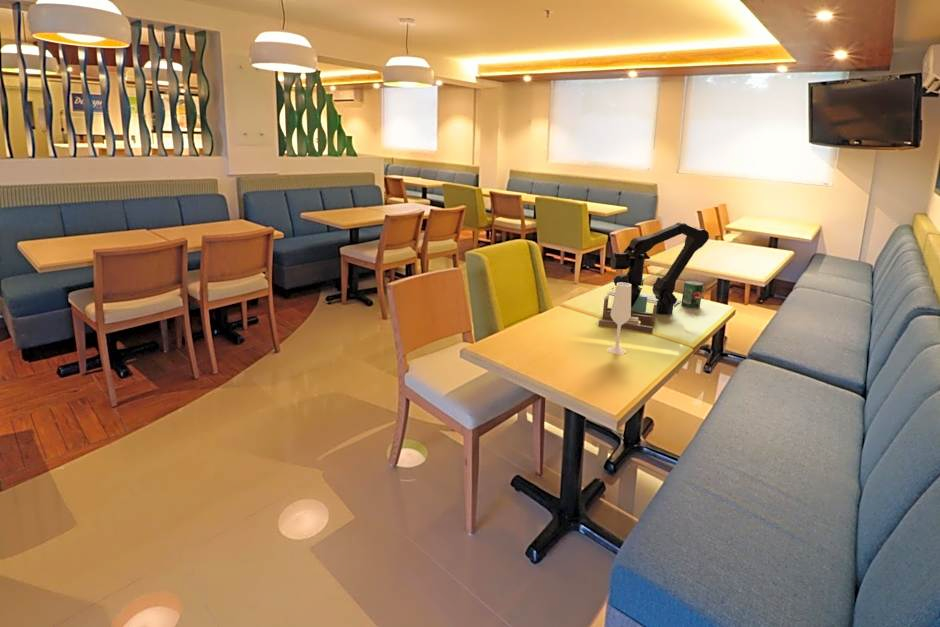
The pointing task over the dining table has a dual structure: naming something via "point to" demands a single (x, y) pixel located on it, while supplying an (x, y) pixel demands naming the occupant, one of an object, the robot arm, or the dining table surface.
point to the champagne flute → (620, 312)
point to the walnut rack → (644, 317)
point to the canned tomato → (692, 294)
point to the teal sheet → (640, 304)
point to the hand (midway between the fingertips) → (631, 305)
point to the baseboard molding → (649, 299)
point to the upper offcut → (633, 320)
